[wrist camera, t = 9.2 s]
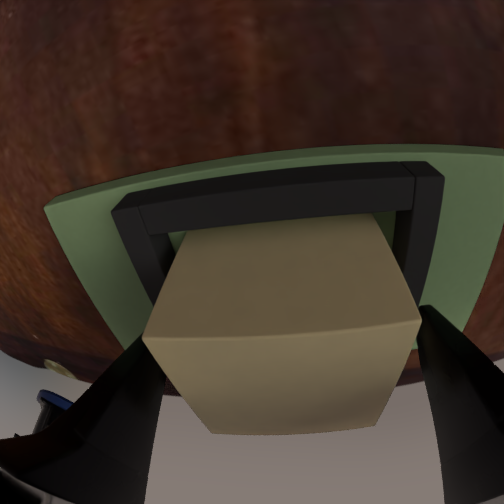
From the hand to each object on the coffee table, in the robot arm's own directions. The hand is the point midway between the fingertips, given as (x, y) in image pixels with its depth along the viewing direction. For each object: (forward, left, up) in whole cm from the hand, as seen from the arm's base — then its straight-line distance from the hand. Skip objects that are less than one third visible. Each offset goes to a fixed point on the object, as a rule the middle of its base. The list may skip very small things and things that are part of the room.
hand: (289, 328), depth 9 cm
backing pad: (0, 0, -3) cm, 3 cm away
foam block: (0, 0, -2) cm, 2 cm away
